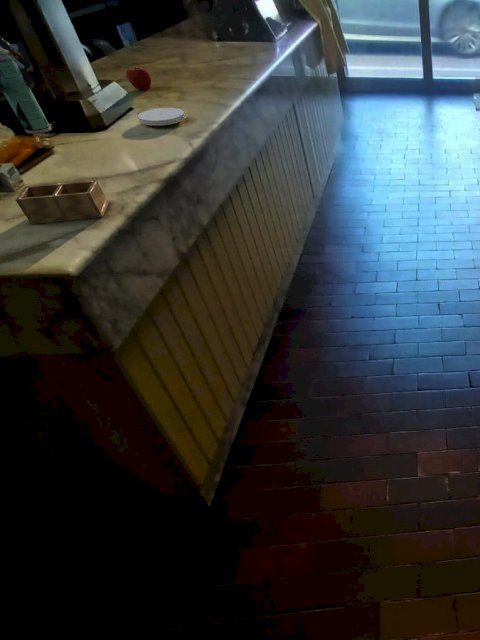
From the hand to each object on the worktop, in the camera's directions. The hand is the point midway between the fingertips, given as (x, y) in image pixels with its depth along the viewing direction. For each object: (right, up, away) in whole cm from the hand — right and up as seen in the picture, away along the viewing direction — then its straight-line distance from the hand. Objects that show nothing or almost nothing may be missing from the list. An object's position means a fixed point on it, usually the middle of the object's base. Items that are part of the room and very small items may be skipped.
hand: (16, 88), depth 126 cm
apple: (-22, +43, +75) cm, 89 cm away
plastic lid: (+3, +17, +49) cm, 52 cm away
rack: (+14, -31, 0) cm, 34 cm away
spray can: (-2, -7, +8) cm, 11 cm away
